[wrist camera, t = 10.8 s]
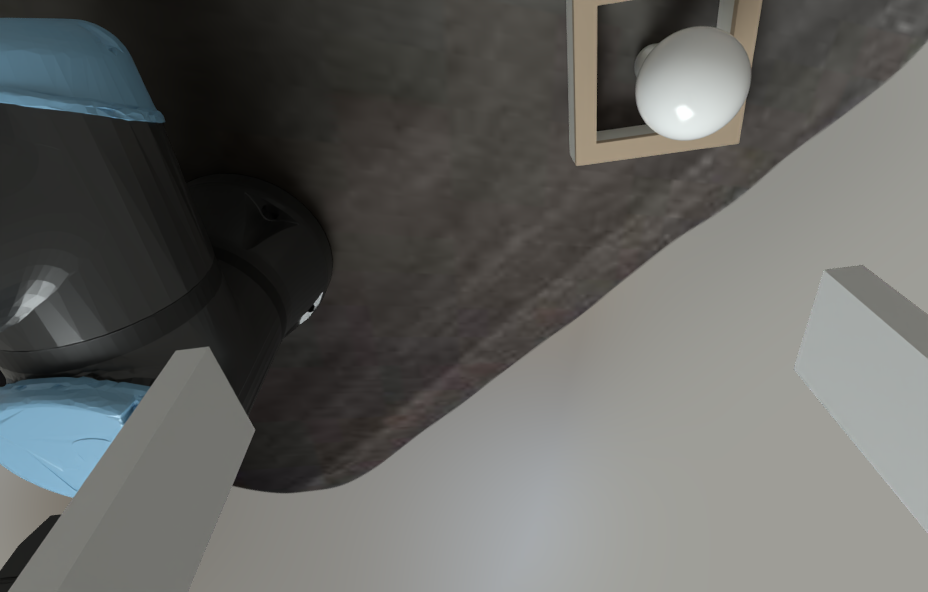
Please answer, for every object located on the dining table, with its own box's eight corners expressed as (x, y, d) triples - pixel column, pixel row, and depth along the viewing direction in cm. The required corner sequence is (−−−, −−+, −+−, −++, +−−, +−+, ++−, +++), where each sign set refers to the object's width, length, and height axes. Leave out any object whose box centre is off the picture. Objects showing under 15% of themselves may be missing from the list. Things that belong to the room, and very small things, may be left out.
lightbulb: (588, 64, 37) (631, 101, 28) (661, -10, 34) (734, 4, 25) (640, 124, 39) (694, 176, 30) (711, 59, 37) (794, 94, 28)
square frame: (569, 153, 41) (576, 165, 38) (565, -20, 34) (573, -18, 32) (722, 132, 40) (738, 143, 38) (748, -51, 33) (770, -51, 31)
